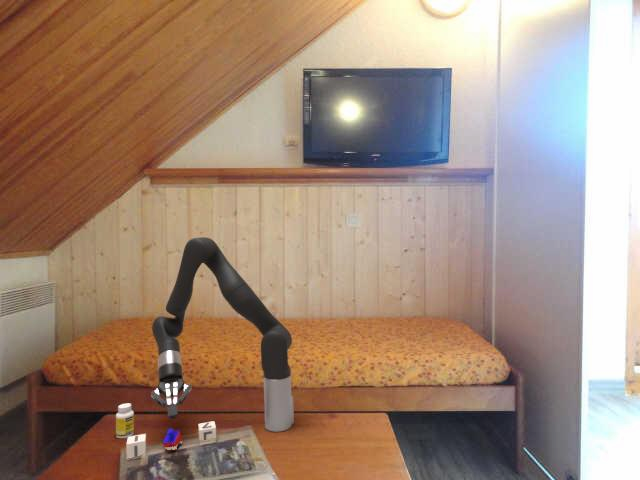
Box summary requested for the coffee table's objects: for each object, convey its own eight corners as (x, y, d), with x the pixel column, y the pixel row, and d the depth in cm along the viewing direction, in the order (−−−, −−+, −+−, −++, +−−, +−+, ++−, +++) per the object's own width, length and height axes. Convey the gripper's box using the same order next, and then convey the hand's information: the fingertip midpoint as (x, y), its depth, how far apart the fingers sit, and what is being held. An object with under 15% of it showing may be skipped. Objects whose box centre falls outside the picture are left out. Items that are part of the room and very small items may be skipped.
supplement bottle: (126, 439, 130) (126, 409, 130) (112, 438, 131) (111, 408, 131) (137, 431, 135) (137, 402, 136) (123, 430, 137) (122, 401, 137)
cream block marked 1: (146, 449, 123) (145, 433, 123) (145, 458, 119) (144, 440, 119) (128, 453, 122) (127, 436, 122) (126, 461, 117) (126, 444, 117)
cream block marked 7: (214, 436, 131) (214, 420, 131) (216, 443, 126) (215, 427, 126) (198, 439, 129) (198, 423, 129) (199, 446, 124) (199, 430, 124)
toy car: (166, 453, 124) (160, 436, 120) (172, 441, 127) (166, 424, 124) (178, 454, 123) (172, 436, 120) (183, 441, 127) (177, 424, 123)
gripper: (148, 364, 130) (149, 417, 119) (190, 358, 136) (195, 408, 124) (149, 376, 135) (150, 427, 124) (190, 370, 140) (194, 418, 129)
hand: (173, 417), depth 124 cm, fingers closed
